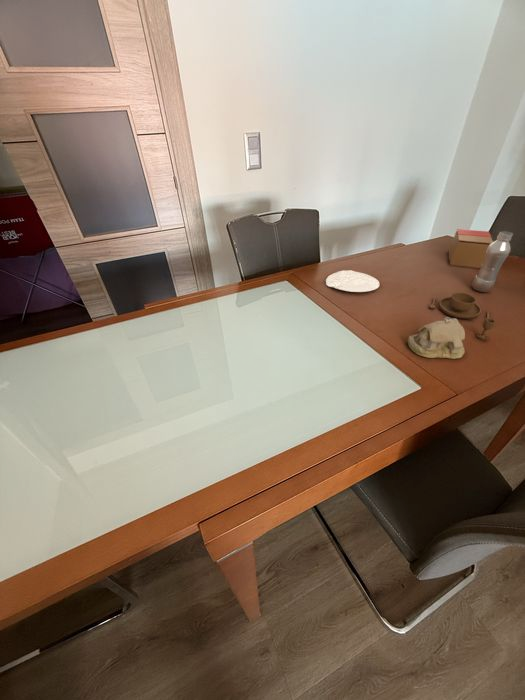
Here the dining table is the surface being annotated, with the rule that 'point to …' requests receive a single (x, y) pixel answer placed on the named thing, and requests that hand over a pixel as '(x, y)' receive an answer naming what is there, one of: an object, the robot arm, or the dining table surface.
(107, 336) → the dining table surface
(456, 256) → the carton
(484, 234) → the red rectangular panel
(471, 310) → the place setting
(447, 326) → the ceramic model
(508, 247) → the plastic bottle
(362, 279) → the plaque
